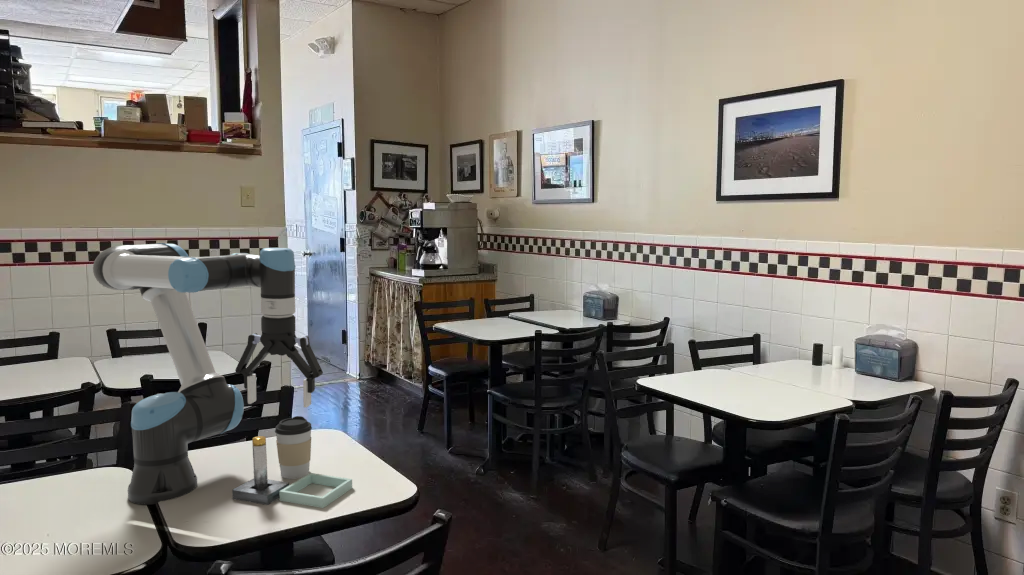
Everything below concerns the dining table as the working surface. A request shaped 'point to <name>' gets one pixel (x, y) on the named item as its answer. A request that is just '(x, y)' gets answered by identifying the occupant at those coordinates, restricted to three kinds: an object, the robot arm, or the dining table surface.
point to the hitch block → (259, 492)
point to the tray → (292, 496)
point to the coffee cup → (294, 447)
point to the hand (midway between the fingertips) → (279, 404)
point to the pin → (260, 462)
